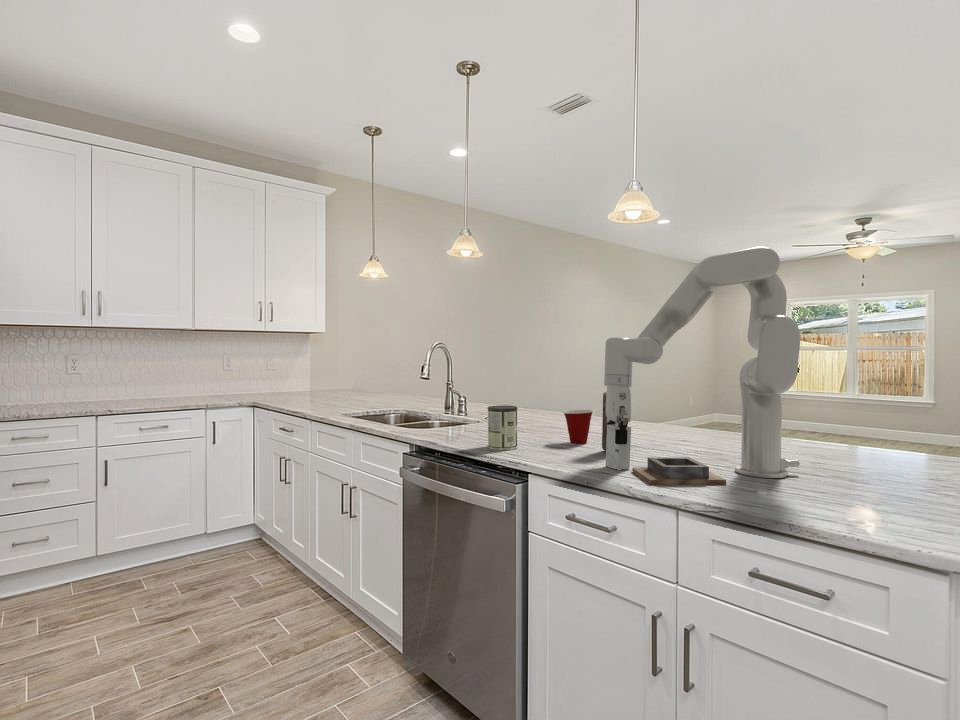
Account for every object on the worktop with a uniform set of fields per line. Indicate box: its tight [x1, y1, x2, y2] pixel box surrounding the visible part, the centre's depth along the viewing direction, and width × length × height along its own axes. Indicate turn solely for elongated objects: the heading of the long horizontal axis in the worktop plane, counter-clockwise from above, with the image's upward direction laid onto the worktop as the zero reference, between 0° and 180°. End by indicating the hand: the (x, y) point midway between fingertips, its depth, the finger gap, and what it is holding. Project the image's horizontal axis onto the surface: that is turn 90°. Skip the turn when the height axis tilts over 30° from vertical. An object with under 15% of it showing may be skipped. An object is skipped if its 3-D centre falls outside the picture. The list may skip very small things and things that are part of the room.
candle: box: [601, 391, 620, 452], centre depth 169 cm, size 8×7×20 cm
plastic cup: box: [562, 409, 594, 445], centre depth 187 cm, size 11×11×12 cm
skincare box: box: [605, 424, 632, 471], centre depth 146 cm, size 6×4×12 cm
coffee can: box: [487, 405, 518, 451], centre depth 178 cm, size 10×10×14 cm
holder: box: [632, 456, 727, 486], centre depth 135 cm, size 19×14×4 cm
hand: (616, 441), depth 146 cm, fingers open, 9 cm apart
